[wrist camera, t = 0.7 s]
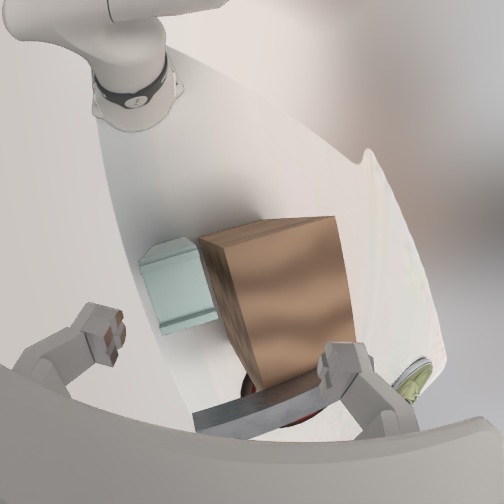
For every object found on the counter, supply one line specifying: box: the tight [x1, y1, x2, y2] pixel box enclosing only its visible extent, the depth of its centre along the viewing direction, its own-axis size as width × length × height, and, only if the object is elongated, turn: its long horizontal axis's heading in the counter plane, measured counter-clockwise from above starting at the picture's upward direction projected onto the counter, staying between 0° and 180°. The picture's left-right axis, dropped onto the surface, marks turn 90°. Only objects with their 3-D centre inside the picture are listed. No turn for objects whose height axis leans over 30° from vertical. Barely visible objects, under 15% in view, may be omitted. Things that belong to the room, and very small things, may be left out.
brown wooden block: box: [199, 216, 356, 392], centre depth 44 cm, size 22×13×26 cm, turn 15°
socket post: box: [139, 236, 218, 335], centre depth 40 cm, size 8×6×26 cm
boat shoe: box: [392, 359, 433, 406], centre depth 69 cm, size 10×29×9 cm, turn 123°
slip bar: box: [192, 355, 374, 440], centre depth 30 cm, size 4×22×4 cm, turn 105°
